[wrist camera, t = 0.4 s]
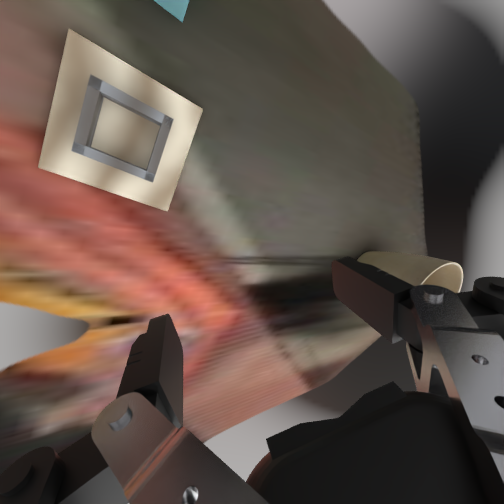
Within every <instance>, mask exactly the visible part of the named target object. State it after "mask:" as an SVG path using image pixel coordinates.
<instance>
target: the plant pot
mask: <svg viewBox="0 0 504 504" xmlns="http://www.w3.org/2000/svg"><path fill="white" fill-rule="evenodd" d="M357 261H359V262H361V263H366V264H370V265H373V266H375V267H377V268H379V269H381V271H382V270H383V271H385V272H387V273H389V274H391V275H393V276H395V277H397V278H399V279H401V280H403V281H405V282H407V283H409V284H411V285H413V286H418V285H426V284H428V285H437V286H441V287H445V288H447V289H449V290H451V291H453V292H454V293H459V292H460V289H461V286H462V282H463V270H462V268H461V266H460V265H459V264H457V263H454V262H450V261H446V260H441V259H437V258H431V257H427V256H421V255H415V254H407V253H398V252H382V251H369V252H366V253H364V254H362V255H361V256H360V257H359V258H358V260H357Z"/></svg>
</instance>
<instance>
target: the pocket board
mask: <svg viewBox="0 0 504 504" xmlns="http://www.w3.org/2000/svg"><path fill="white" fill-rule="evenodd" d="M202 111H203V109H202V108H200V107H198V106H197V105H195V104H193V103H192V102H190V101H189V100H187V99H185V98H184V97H182V96H180V95H179V94H177V93H175V92H174V91H172V90H170V89H169V88H167V87H165V86H164V85H162V84H160V83H159V82H157V81H155V80H154V79H152V78H150V77H149V76H147V75H145V74H144V73H142V72H140V71H139V70H137V69H135V68H134V67H132V66H131V65H129V64H127V63H126V62H124V61H122V60H121V59H119V58H117V57H116V56H114V55H112V54H111V53H109V52H107V51H106V50H104V49H102V48H101V47H99V46H97V45H96V44H94V43H92V42H91V41H89V40H87V39H86V38H84V37H82V36H81V35H79V34H77V33H76V32H74V31H72V30H71V29H69V30H68V34H67V39H66V43H65V48H64V52H63V57H62V61H61V66H60V70H59V75H58V79H57V84H56V88H55V93H54V97H53V102H52V107H51V111H50V116H49V120H48V125H47V129H46V134H45V138H44V143H43V147H42V152H41V156H40V161H39V165H38V168H41V169H44V170H47V171H50V172H53V173H56V174H59V175H62V176H65V177H68V178H71V179H73V180H76V181H79V182H82V183H85V184H88V185H91V186H94V187H97V188H100V189H103V190H106V191H109V192H112V193H115V194H117V195H120V196H123V197H126V198H129V199H132V200H135V201H138V202H141V203H144V204H147V205H150V206H153V207H156V208H159V209H161V210H164V211H168V208H169V206H170V203H171V200H172V197H173V194H174V191H175V188H176V185H177V183H178V180H179V177H180V174H181V171H182V168H183V165H184V162H185V160H186V157H187V154H188V151H189V148H190V145H191V142H192V139H193V137H194V134H195V131H196V128H197V125H198V122H199V119H200V116H201V114H202Z"/></svg>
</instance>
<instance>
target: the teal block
mask: <svg viewBox="0 0 504 504" xmlns="http://www.w3.org/2000/svg"><path fill="white" fill-rule="evenodd" d="M154 1H155V2H156V3H158V4H159V5H160V6H162V7H163V8H164V9H166V10H167V11H168V12H169V13H171V14H172V15H173V16H175V17H176V18H177V19H179V20H180V21H181V22H183V19H184V16H185V13H186V9H187V6H188V3H189V0H154Z"/></svg>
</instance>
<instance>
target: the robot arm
mask: <svg viewBox="0 0 504 504" xmlns="http://www.w3.org/2000/svg"><path fill="white" fill-rule="evenodd" d="M332 278H333V289H334V293H335V295H336V297H337V298H338V299H339V300H340V301H341V302H342V303H343V304H345V305H346V306H347V307H348V308H350V309H351V310H352V311H353V312H354V313H356V314H357V315H358V316H359V317H360V318H362V319H363V320H364V321H365V322H367V323H368V324H369V325H370V326H371V327H373V328H374V329H375V330H376V331H377V332H379V333H380V334H381V335H382V336H383V337H385V338H386V339H387V340H388V341H390V342H391V343H395V342H397V341H400V340H402V339H404V340H405V341H407V344H406V349H407V353H408V357H409V360H410V364H411V368H412V372H413V376H414V379H415V384H416V388H417V391H404V392H403V391H402V390H401V389H400V388H399V387H398V386H397V385H396V384H395V383H394V382H390V383H388V384H386V385H384V386H382V387H379V388H377V389H375V390H373V391H371V392H368V393H366V394H364V395H363V396H362V397H361V398H360V399H359V400H358V401H357V402H356V403H355V404H354V405H352V406H351V407H350V408H349V409H348V410H347V411H346V412H345V413H344V414H343V415H342V416H340V417H339V418H335V419H328V420H321V421H314V422H307V423H300V424H298V425H296V426H293V427H291V428H289V429H287V430H285V431H283V432H280V433H278V434H276V435H274V436H272V437H269V438H267V439H266V440H267V444H268V448H269V451H270V452H269V453H268V454H267V455H266V456H264V458H262V460H261V461H260V462H259V463H258V464H257V465H256V467H255V468H254V470H253V471H252V472H251V474H250V475H249V477H248V479H247V481H246V482H245V481H244V480H243V479H242V478H241V477H240V476H238V475H237V474H236V473H235V472H234V471H233V470H232V469H231V468H230V467H229V466H227V465H226V464H225V463H224V462H223V461H222V460H221V459H220V458H219V457H217V456H216V455H215V454H214V453H213V452H212V451H211V450H210V449H209V448H208V447H206V446H205V445H204V444H203V443H202V442H201V441H200V440H199V439H198V438H197V437H195V436H194V435H193V434H192V433H191V432H190V431H189V430H188V429H186V428H185V427H183V349H182V345H181V342H180V339H179V337H178V334H177V332H176V329H175V327H174V324H173V322H172V319H171V317H170V315H169V314H165V315H162V316H159V317H156V318H153V319H150V321H149V325H148V330H147V333H145V334H142V335H140V336H139V337H138V338H137V339H136V341H135V342H134V343H133V345H132V347H131V351H130V354H129V358H128V361H127V364H126V365H127V366H126V367H125V371H124V374H123V377H122V380H121V384H120V387H119V390H118V394H117V397H116V399H115V400H114V401H112V402H111V403H110V404H109V405H108V406H107V407H105V409H104V410H103V411H102V412H101V413H100V414H99V416H98V417H97V419H96V421H95V423H94V425H93V428H92V432H90V433H89V434H87V435H86V436H85V437H83V438H82V439H80V440H79V441H77V442H75V443H74V444H72V445H71V446H69V447H68V448H66V449H65V450H63V451H62V452H60V453H59V454H57V453H56V452H55V451H54V450H53V449H52V448H51V447H40V448H37V449H35V450H33V451H31V452H29V453H27V454H25V455H24V456H22V457H21V458H19V459H18V460H17V461H15V462H14V463H13V464H12V465H11V466H10V467H8V468H7V469H6V470H5V471H4V472H3V473H2V474H1V475H0V504H128V503H130V504H504V278H501V277H482V278H478V279H476V280H475V282H474V286H473V291H469V292H460V293H454V292H453V291H451V290H449V289H447V288H445V287H441V286H437V285H428V284H426V285H418V286H413V285H411V284H409V283H407V282H405V281H403V280H401V279H399V278H397V277H395V276H393V275H391V274H389V273H387V272H385V271H383V270H382V271H381V269H379V268H377V267H375V266H373V265H370V264H366V263H361V262H359V261H357V260H355V259H353V258H351V257H348V256H347V257H344V258H340V259H337V260H334V261H333V262H332Z"/></svg>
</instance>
